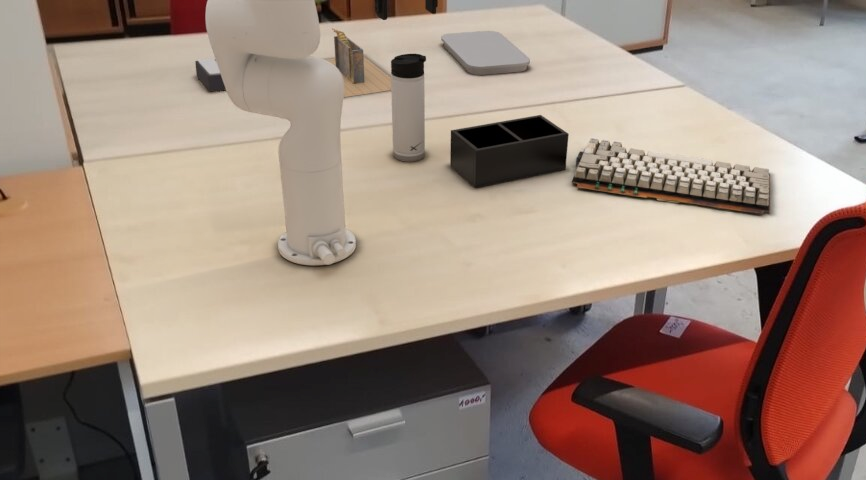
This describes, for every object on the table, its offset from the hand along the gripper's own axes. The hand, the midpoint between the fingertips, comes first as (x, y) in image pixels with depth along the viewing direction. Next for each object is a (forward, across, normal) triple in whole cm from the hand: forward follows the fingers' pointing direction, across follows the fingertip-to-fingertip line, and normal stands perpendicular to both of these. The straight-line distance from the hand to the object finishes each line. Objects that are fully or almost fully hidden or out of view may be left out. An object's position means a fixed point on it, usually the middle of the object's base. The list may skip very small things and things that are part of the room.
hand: (406, 14), depth 171 cm
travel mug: (+28, 0, 0) cm, 28 cm away
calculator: (+28, -19, +54) cm, 63 cm away
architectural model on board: (+28, +6, +47) cm, 55 cm away
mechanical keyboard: (+28, +41, -32) cm, 59 cm away
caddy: (+28, +15, -13) cm, 34 cm away
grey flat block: (+28, +42, +46) cm, 69 cm away
